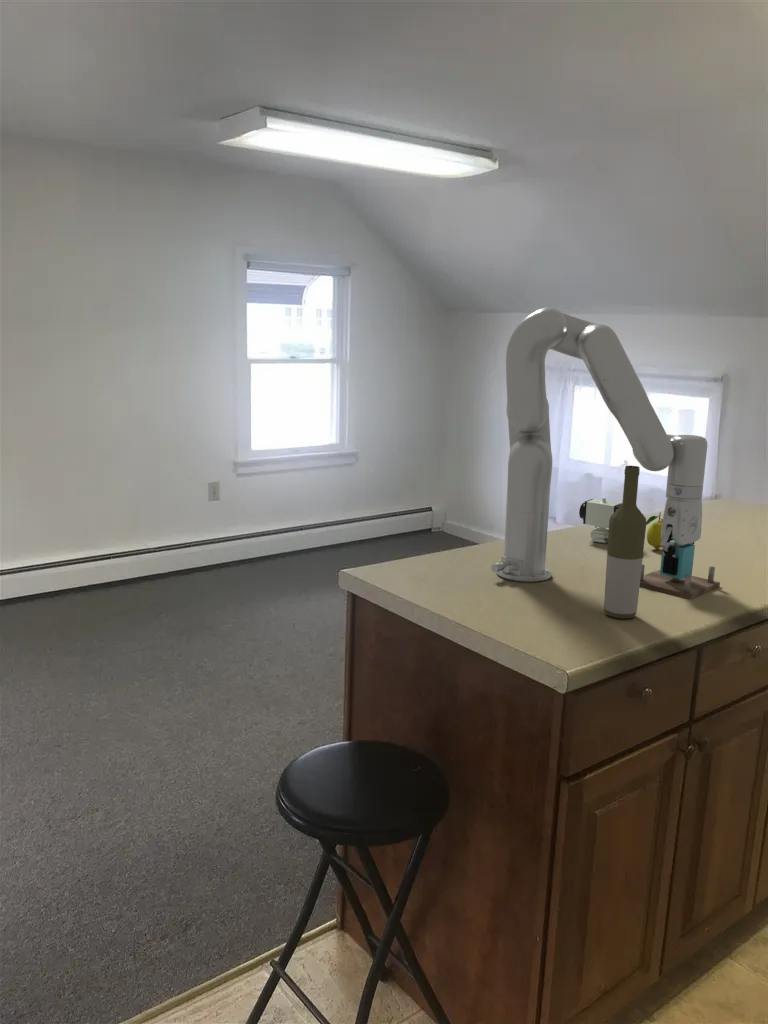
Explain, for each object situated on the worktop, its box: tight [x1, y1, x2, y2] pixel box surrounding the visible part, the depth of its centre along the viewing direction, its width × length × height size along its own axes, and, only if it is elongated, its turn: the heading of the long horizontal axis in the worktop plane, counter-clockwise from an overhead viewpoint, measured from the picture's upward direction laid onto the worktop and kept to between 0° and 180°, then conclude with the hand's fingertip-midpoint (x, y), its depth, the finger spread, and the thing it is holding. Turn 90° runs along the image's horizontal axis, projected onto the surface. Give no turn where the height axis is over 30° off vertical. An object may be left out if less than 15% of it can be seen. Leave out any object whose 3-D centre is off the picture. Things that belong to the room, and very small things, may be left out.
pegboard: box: [640, 563, 721, 600], centre depth 188 cm, size 14×14×5 cm
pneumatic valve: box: [578, 497, 623, 545], centre depth 225 cm, size 6×12×12 cm, turn 53°
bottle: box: [603, 465, 647, 620], centre depth 164 cm, size 7×7×30 cm
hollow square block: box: [659, 540, 696, 579], centre depth 187 cm, size 5×5×7 cm
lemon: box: [646, 512, 663, 550], centre depth 218 cm, size 7×6×10 cm
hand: (676, 570), depth 188 cm, fingers closed on hollow square block, 5 cm apart
